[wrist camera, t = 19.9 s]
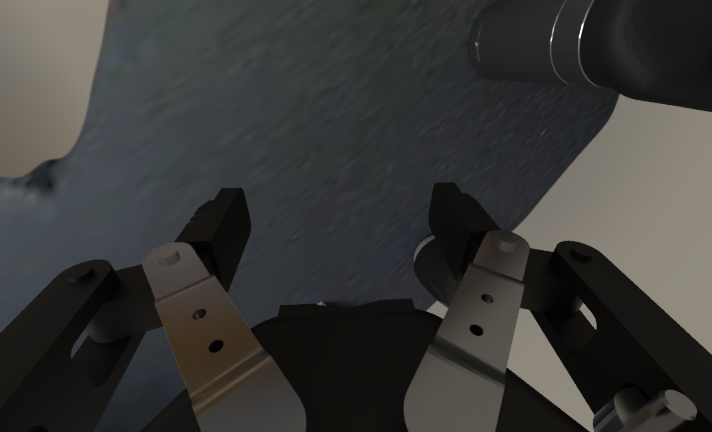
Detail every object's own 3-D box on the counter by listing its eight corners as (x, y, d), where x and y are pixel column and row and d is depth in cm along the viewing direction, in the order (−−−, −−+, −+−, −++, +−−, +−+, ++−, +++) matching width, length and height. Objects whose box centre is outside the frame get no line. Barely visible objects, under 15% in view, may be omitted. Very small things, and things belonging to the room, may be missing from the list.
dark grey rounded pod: (395, 262, 53) (428, 329, 39) (428, 215, 49) (477, 271, 36) (437, 279, 56) (480, 345, 43) (470, 236, 53) (528, 294, 40)
